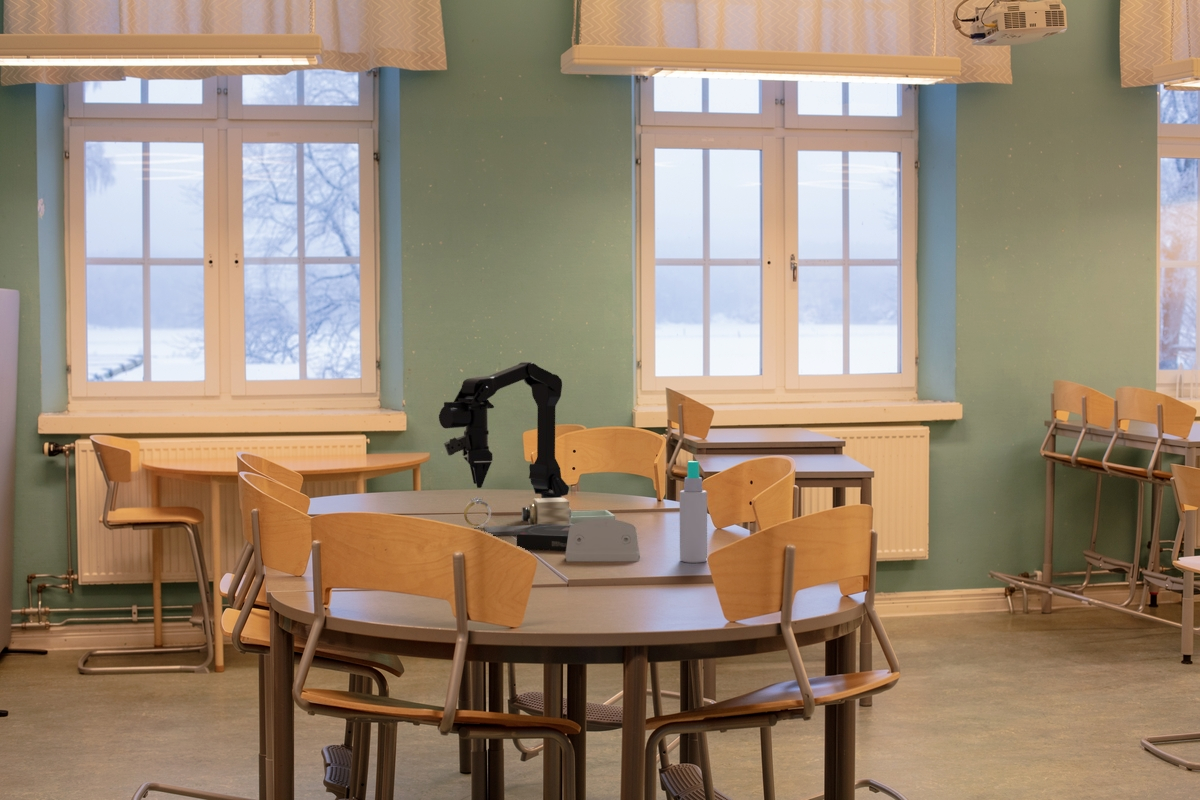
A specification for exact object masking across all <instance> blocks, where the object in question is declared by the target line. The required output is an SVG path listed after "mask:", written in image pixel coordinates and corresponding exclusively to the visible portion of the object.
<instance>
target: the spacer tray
mask: <svg viewBox="0 0 1200 800" xmlns="http://www.w3.org/2000/svg"><path fill="white" fill-rule="evenodd" d="M592 519H613V520H616V515H615V514H613V513H612V512H610V511H609V510H607V509H601V510H600V509H599V510H597V509H596V510H571V517H570V518H569V524H573V523H579V522H582V521H586V520H592Z"/></svg>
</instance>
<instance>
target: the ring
mask: <svg viewBox="0 0 1200 800" xmlns="http://www.w3.org/2000/svg"><path fill="white" fill-rule="evenodd" d="M469 500H470V501H469V502H468V503H467V504H466V506H465V508H464V512H463V515H464V519H465V521H466V523H467V524H468V525H470V526H471V527H473V526H472V525H474V526H476V527H475V528H477V529H478V527H479V528H482V527H485V526H486V525H487V524H488V522H489V521H490V519H491V516H492V510H491V508H490V505H489V504H488V503H487V502H485V501H483V500H484V499H483V497H481V498H480V497H479V496H476V497H474V498H470V499H469ZM478 504H481V505H482V506H484V507H485V508H486V510H487V513H488V515H487V517H486V520H485V521H484V522H482V523H479V522H477V523H473V522H471V521H470V520H469V518H468V510H469V509H470V508H471V507H472V506H474V505H478Z"/></svg>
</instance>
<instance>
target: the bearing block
mask: <svg viewBox="0 0 1200 800" xmlns="http://www.w3.org/2000/svg"><path fill="white" fill-rule="evenodd" d="M533 504H535V506H536V509H537V519H536V524H529V525H528V524H526V525H525V524H524V525H500V526H499V525H498V526H483V531H486V532H488V533H491V534H493V535H496V536H495V537H499V536H498V535H501V536H500V537H502V536H503V537H504V536H505V537H506V536H517V534H518V533H521V532H523V531H525V530H527V529H529V528H531V527H533V526H536V525H538V524H553V525H573V524H576V523H573V524H569V508H570V501H569V500H568V499H566V498H565V497H562V498H541V497H540V498H538V497H537V498H535V497H534V498H533Z"/></svg>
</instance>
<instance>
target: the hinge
mask: <svg viewBox="0 0 1200 800" xmlns="http://www.w3.org/2000/svg"><path fill="white" fill-rule="evenodd" d="M564 557H565V562H639V560H640V558H639V557H641V553H640V546H639V538H638V532H637V528H636V526H635V524H632V523H630V522H627V521H624V520H620V519H619V520H618V519H615V520H613V519H592V520H586V521H582V522H579V523H576V524H573V525H571V526H570V528H569V534H568V540H567V547H566V551H565V555H564Z"/></svg>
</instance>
